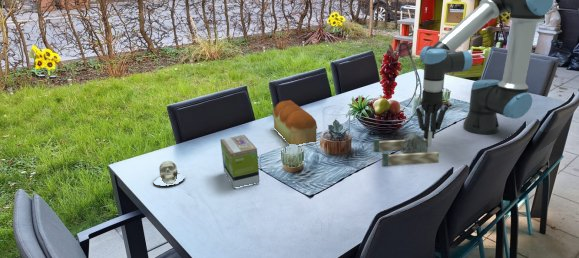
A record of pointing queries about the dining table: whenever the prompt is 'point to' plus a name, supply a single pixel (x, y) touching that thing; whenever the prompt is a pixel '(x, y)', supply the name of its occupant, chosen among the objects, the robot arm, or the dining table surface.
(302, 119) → the bread
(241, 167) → the tea box
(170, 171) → the skull
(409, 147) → the stone
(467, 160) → the dining table surface
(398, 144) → the chevron patterned bars
